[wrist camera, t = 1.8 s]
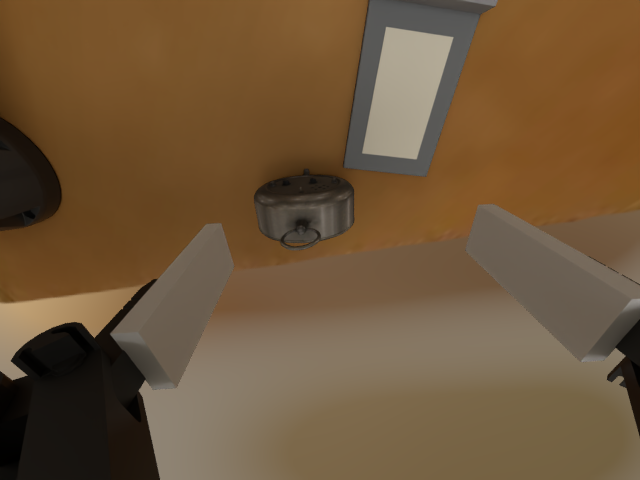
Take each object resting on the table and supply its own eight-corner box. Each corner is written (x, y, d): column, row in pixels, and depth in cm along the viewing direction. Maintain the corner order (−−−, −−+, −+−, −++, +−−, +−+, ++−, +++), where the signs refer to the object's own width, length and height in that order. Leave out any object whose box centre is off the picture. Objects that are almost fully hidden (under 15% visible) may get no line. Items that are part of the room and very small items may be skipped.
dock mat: (343, 166, 31) (345, 172, 28) (372, -24, 22) (380, -41, 20) (423, 175, 32) (433, 181, 29) (482, -6, 23) (504, -19, 20)
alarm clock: (270, 206, 34) (237, 279, 19) (263, 167, 31) (220, 220, 17) (347, 201, 33) (370, 272, 19) (347, 162, 31) (374, 211, 17)
